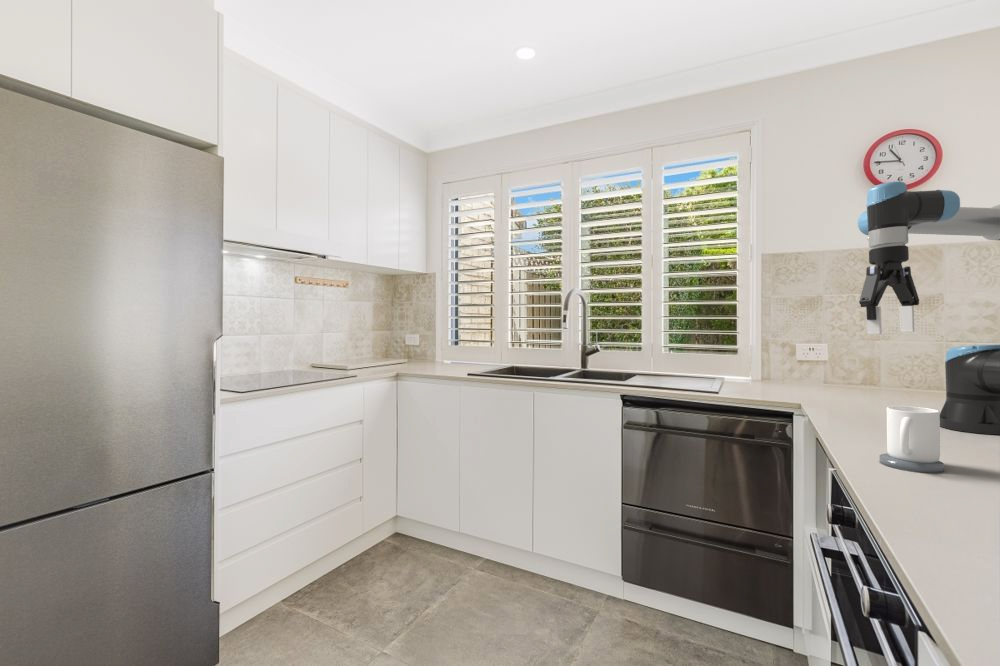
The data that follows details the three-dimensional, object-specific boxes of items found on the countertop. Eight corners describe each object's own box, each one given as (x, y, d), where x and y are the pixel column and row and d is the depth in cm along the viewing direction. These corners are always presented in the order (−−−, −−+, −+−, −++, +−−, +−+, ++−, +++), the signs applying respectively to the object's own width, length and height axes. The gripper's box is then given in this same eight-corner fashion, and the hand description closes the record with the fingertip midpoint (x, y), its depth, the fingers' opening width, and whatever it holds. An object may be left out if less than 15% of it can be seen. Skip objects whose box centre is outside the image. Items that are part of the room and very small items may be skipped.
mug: (930, 470, 89) (930, 416, 89) (876, 460, 95) (876, 411, 95) (944, 458, 96) (943, 409, 96) (893, 450, 103) (892, 404, 102)
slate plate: (897, 456, 102) (897, 451, 102) (955, 469, 93) (955, 463, 93) (868, 461, 99) (868, 456, 99) (925, 475, 89) (925, 469, 89)
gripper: (899, 251, 122) (902, 331, 122) (839, 248, 113) (842, 334, 113) (935, 246, 115) (938, 330, 115) (874, 242, 106) (877, 334, 106)
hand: (891, 332), depth 114 cm, fingers open, 13 cm apart
